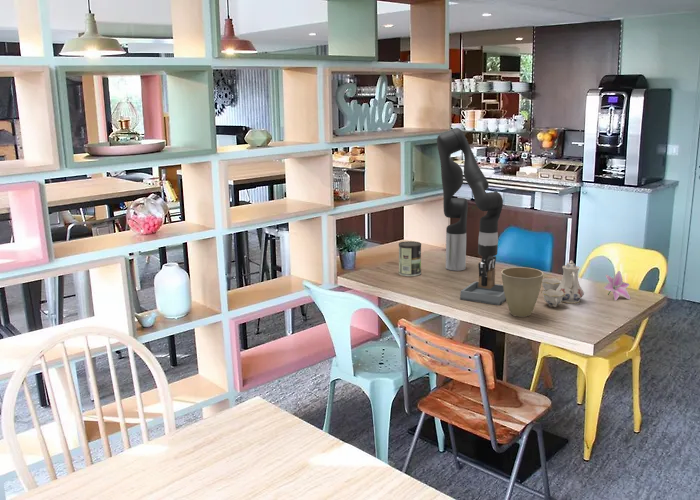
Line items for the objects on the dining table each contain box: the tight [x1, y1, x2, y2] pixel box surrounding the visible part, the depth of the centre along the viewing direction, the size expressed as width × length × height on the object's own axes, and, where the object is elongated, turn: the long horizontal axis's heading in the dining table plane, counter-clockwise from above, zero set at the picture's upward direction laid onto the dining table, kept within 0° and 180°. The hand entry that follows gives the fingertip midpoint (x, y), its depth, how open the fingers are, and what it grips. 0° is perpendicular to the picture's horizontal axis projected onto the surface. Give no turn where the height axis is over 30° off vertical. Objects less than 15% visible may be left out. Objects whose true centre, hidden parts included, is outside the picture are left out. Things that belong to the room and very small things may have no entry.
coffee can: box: [398, 240, 422, 277], centre depth 301 cm, size 10×10×14 cm
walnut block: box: [477, 268, 496, 289], centre depth 264 cm, size 5×5×7 cm
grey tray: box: [459, 280, 506, 306], centre depth 265 cm, size 16×16×4 cm
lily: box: [603, 270, 631, 301], centre depth 262 cm, size 12×12×10 cm
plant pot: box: [500, 266, 544, 318], centre depth 243 cm, size 15×15×16 cm
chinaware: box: [541, 259, 585, 308], centre depth 259 cm, size 28×17×17 cm, turn 171°
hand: (486, 284), depth 264 cm, fingers closed on walnut block, 5 cm apart
